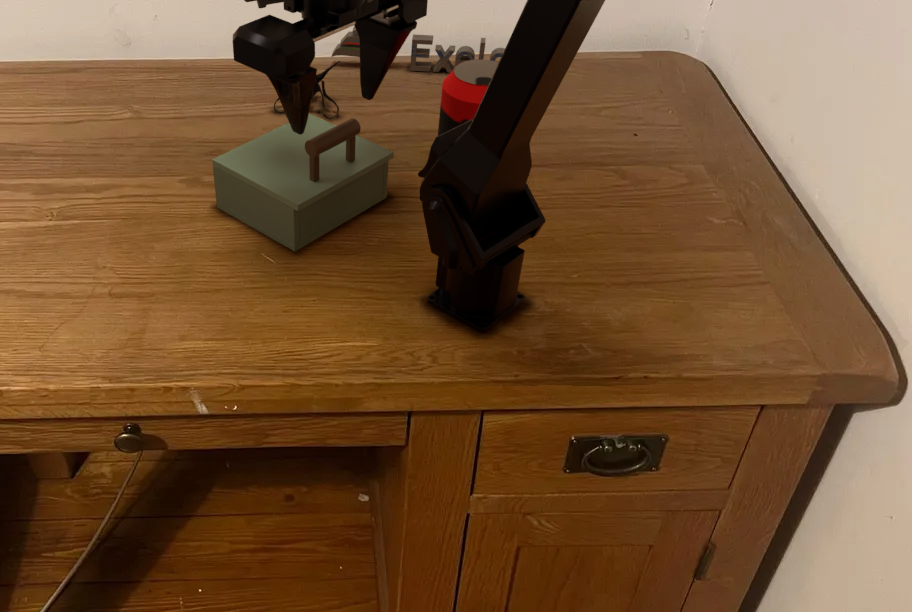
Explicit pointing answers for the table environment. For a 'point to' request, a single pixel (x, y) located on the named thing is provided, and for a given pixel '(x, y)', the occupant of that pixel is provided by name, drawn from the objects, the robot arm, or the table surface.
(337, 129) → the lid
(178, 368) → the table surface
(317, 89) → the creature
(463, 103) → the soda can
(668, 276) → the table surface
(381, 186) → the compartment
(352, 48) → the extruded letter logo
